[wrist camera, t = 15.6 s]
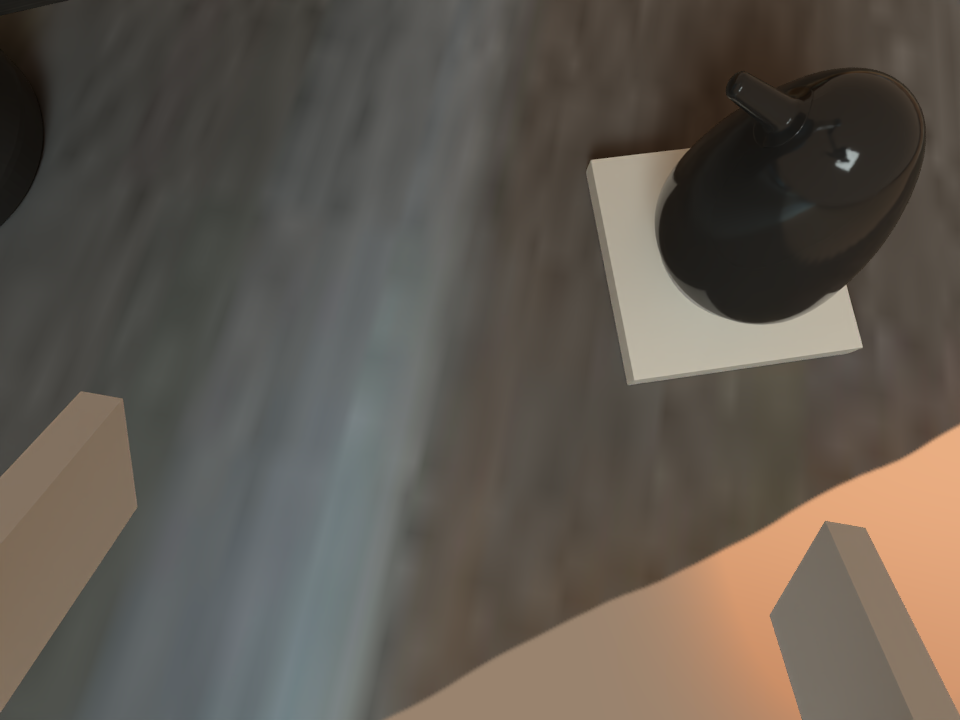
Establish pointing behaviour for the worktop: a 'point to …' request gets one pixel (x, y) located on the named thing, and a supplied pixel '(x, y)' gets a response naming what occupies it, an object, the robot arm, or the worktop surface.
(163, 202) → the worktop surface
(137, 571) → the worktop surface
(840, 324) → the tile pad
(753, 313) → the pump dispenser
